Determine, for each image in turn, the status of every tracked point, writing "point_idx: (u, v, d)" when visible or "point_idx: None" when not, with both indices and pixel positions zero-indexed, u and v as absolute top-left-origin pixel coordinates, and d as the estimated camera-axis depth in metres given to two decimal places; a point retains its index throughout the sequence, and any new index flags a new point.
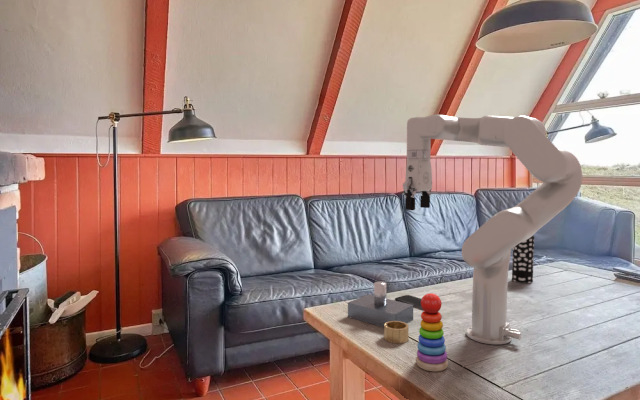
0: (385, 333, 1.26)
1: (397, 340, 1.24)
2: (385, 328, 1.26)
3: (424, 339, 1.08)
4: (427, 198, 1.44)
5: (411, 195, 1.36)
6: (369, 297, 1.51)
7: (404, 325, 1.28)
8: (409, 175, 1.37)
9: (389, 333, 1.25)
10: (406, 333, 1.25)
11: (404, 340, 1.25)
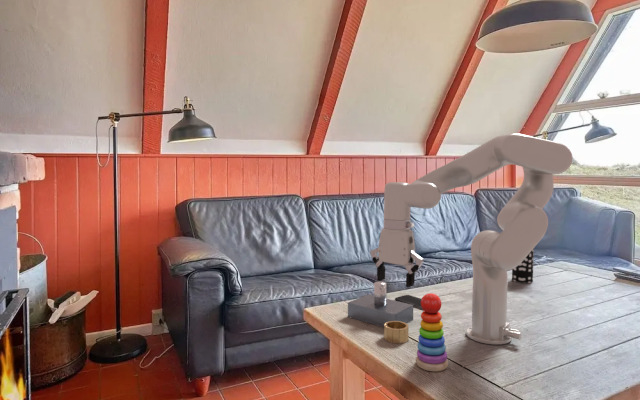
0: (385, 333, 1.26)
1: (397, 340, 1.24)
2: (385, 328, 1.26)
3: (424, 339, 1.08)
4: (384, 269, 1.30)
5: None
6: (369, 297, 1.51)
7: (404, 325, 1.28)
8: (410, 248, 1.22)
9: (389, 333, 1.25)
10: (406, 333, 1.25)
11: (404, 340, 1.25)
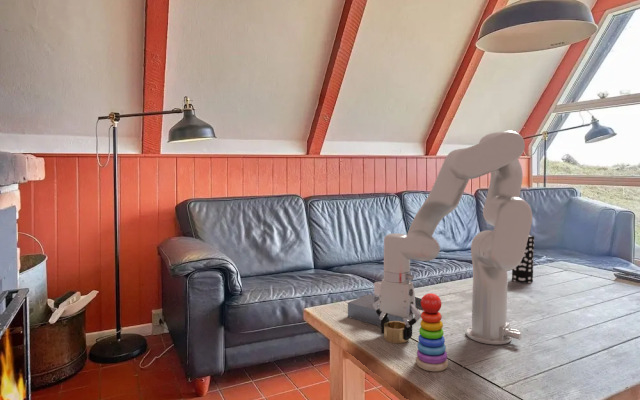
0: (385, 333, 1.26)
1: (397, 340, 1.24)
2: (385, 328, 1.26)
3: (424, 339, 1.08)
4: (388, 321, 1.30)
5: None
6: (369, 297, 1.51)
7: (404, 325, 1.28)
8: (410, 300, 1.23)
9: (389, 333, 1.25)
10: None
11: (404, 340, 1.25)
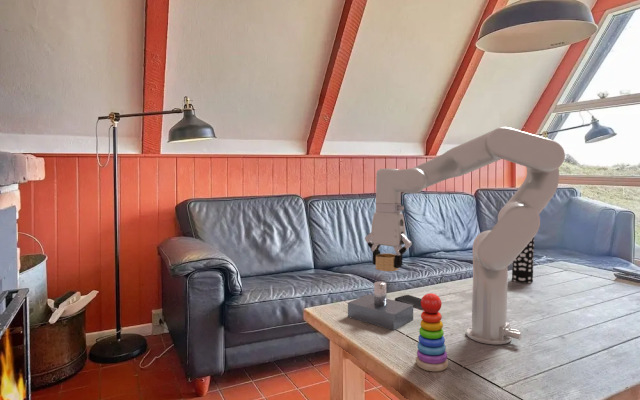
0: (376, 263, 1.33)
1: (388, 268, 1.31)
2: (377, 258, 1.33)
3: (424, 339, 1.08)
4: (379, 253, 1.37)
5: None
6: (369, 297, 1.51)
7: (394, 256, 1.35)
8: (401, 230, 1.30)
9: (380, 262, 1.32)
10: None
11: (394, 268, 1.32)
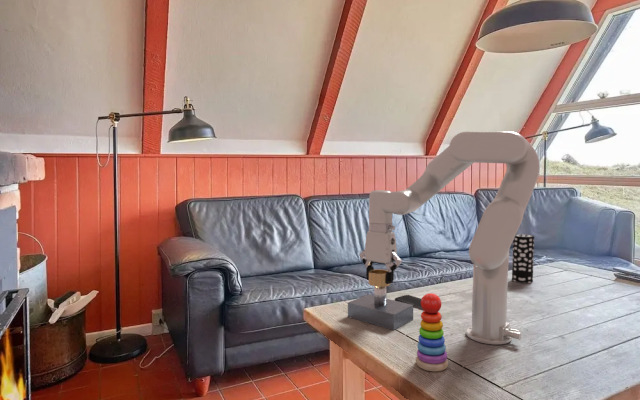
0: (369, 278, 1.42)
1: (380, 284, 1.40)
2: (369, 274, 1.42)
3: (424, 339, 1.08)
4: (373, 269, 1.46)
5: None
6: (369, 297, 1.51)
7: None
8: (392, 248, 1.39)
9: (373, 278, 1.41)
10: None
11: (386, 284, 1.40)
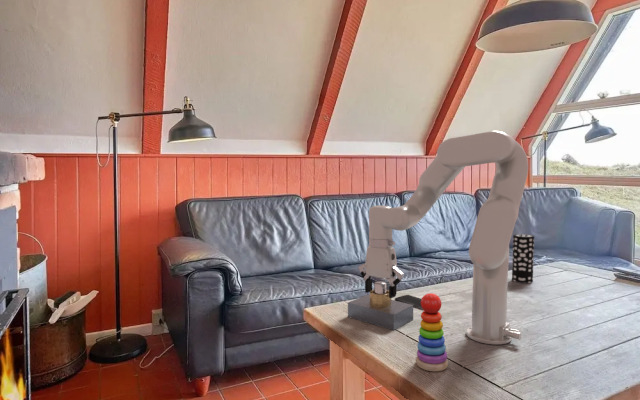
0: (370, 299, 1.43)
1: (381, 304, 1.40)
2: (370, 294, 1.43)
3: (424, 339, 1.08)
4: (371, 282, 1.47)
5: None
6: (369, 297, 1.51)
7: (387, 292, 1.45)
8: (392, 263, 1.39)
9: (374, 298, 1.41)
10: (389, 298, 1.41)
11: (387, 304, 1.41)
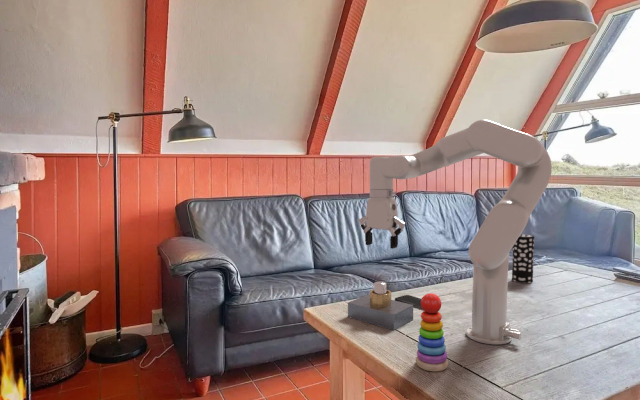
0: (370, 299, 1.43)
1: (381, 304, 1.40)
2: (370, 294, 1.43)
3: (424, 339, 1.08)
4: (371, 235, 1.46)
5: None
6: (369, 297, 1.51)
7: (387, 292, 1.45)
8: (393, 214, 1.38)
9: (374, 298, 1.41)
10: (389, 298, 1.41)
11: (387, 304, 1.41)
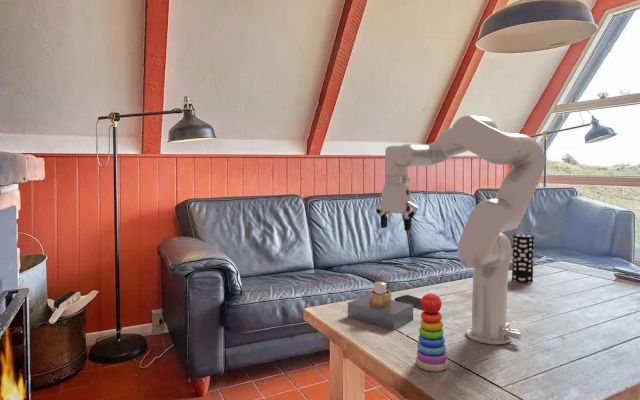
0: (370, 299, 1.43)
1: (381, 304, 1.40)
2: (370, 294, 1.43)
3: (424, 339, 1.08)
4: (386, 218, 1.58)
5: (412, 216, 1.51)
6: (369, 297, 1.51)
7: (387, 292, 1.45)
8: (407, 198, 1.50)
9: (374, 298, 1.41)
10: (389, 298, 1.41)
11: (387, 304, 1.41)
